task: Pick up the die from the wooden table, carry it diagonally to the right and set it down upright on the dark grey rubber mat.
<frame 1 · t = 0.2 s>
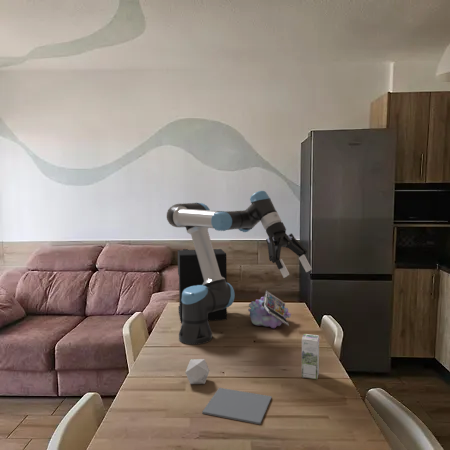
hand: (298, 273, 147), 35 cm above the table, fingers open, 13 cm apart
syrup box: (310, 375, 141), on the table
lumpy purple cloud: (269, 324, 195), on the table
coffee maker: (205, 315, 210), on the table, touching arm
die: (197, 382, 137), on the table
mat: (238, 405, 122), on the table
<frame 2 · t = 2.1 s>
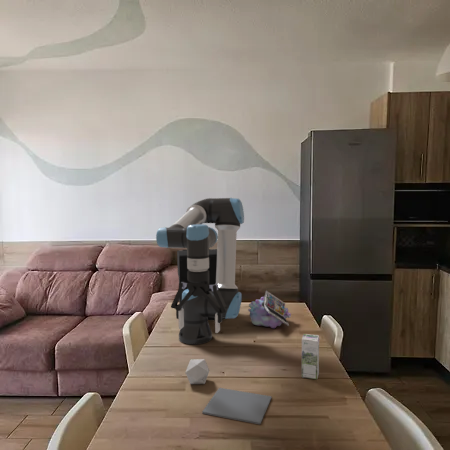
hand: (199, 329, 135), 19 cm above the table, fingers open, 13 cm apart
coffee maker: (205, 315, 210), on the table
everything else where it was.
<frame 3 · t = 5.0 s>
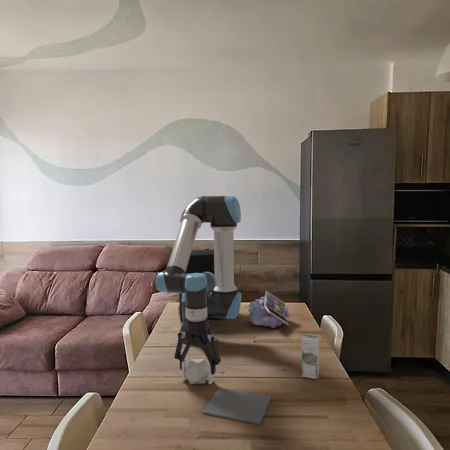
hand: (197, 380, 137), 1 cm above the table, fingers closed on die, 9 cm apart
die: (197, 382, 137), on the table, touching gripper
everything else where it was.
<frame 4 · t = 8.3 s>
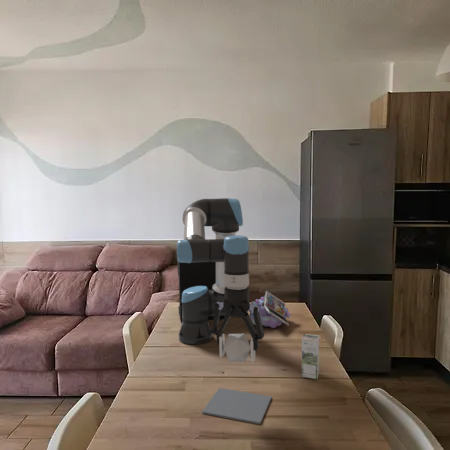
hand: (237, 357, 120), 16 cm above the table, fingers closed on die, 9 cm apart
die: (237, 360, 120), point 15 cm above the table, touching gripper
everything else where it was.
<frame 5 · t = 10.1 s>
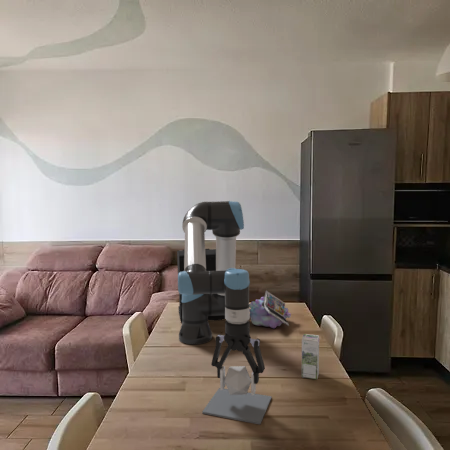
hand: (237, 390, 121), 5 cm above the table, fingers closed on die, 9 cm apart
die: (237, 392, 121), point 4 cm above the table, touching gripper
everything else where it was.
when the fingers open (2 cm above the table, at t = 11.6 s): die drops 1 cm, resting on mat.
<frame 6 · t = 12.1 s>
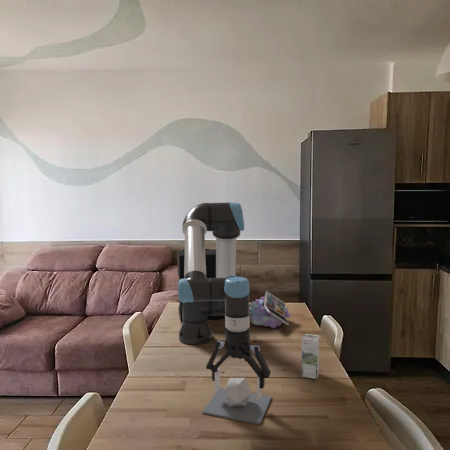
hand: (238, 394, 121), 4 cm above the table, fingers open, 13 cm apart
die: (237, 404, 122), resting on mat
everything else where it was.
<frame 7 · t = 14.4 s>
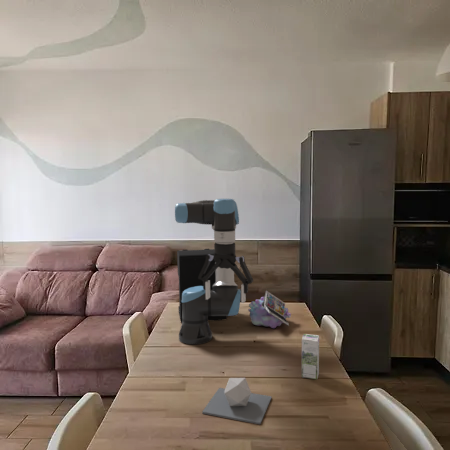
hand: (225, 300, 141), 28 cm above the table, fingers open, 13 cm apart
nothing on the table moved.
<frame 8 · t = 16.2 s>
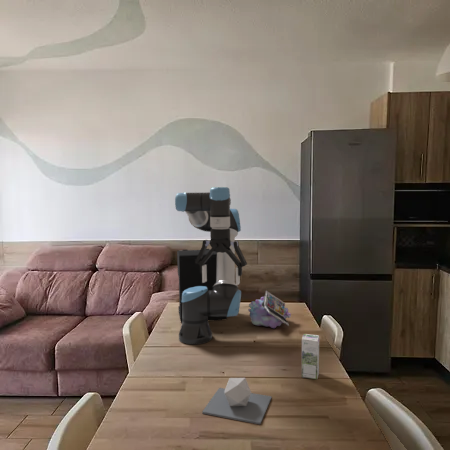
hand: (220, 283, 149), 32 cm above the table, fingers open, 13 cm apart
nothing on the table moved.
at the end: die inside the target area on the mat (0.1 cm from its centre), point 0.4 cm above the mat's base; die tilted 0°; the gripper is holding nothing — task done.
